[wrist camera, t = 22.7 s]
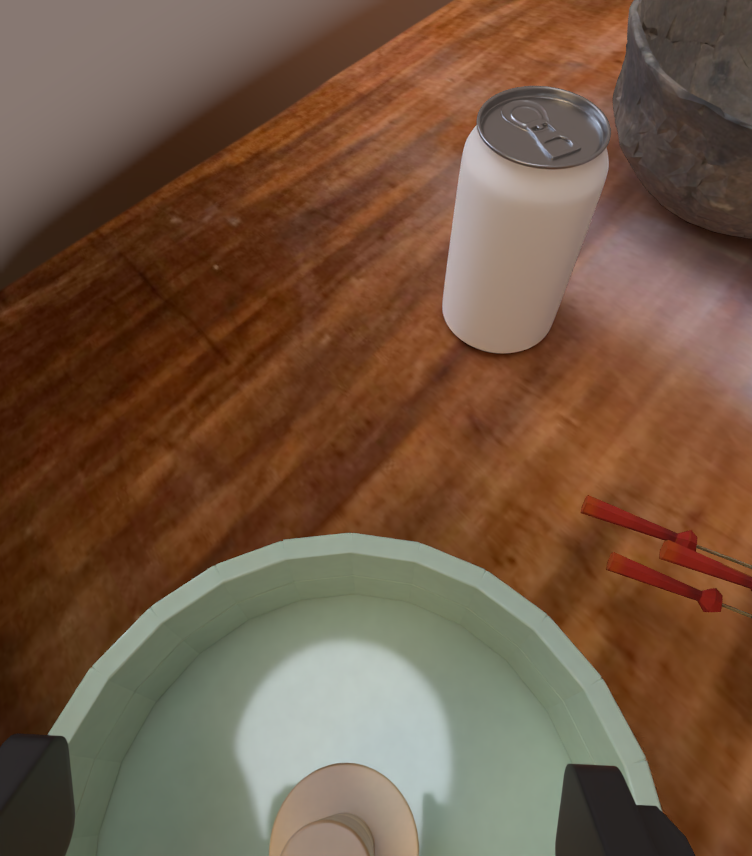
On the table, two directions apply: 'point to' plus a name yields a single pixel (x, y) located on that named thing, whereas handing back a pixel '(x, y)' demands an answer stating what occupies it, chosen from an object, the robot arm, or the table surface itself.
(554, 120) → the can
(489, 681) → the mixing bowl
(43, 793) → the robot arm
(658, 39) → the bowl
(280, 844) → the wooden stamp
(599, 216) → the table surface
